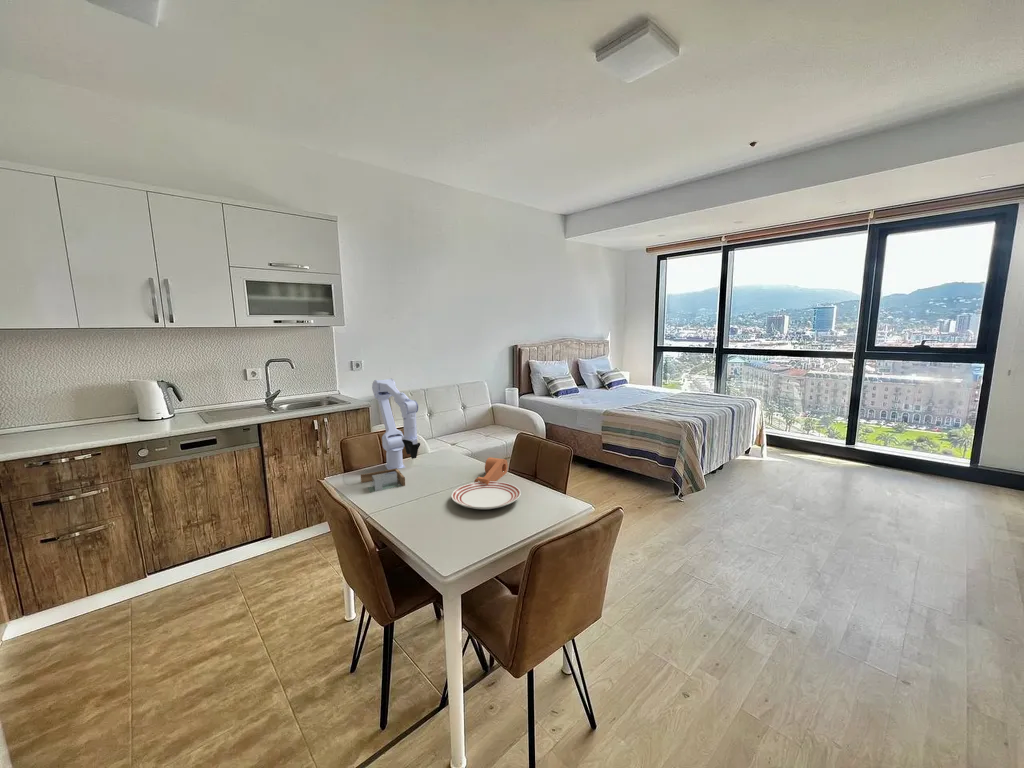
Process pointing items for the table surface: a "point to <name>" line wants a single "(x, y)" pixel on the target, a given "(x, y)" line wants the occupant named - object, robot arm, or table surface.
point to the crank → (493, 470)
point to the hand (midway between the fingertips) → (411, 456)
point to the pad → (383, 488)
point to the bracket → (384, 480)
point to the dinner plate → (486, 495)
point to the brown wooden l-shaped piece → (368, 476)
